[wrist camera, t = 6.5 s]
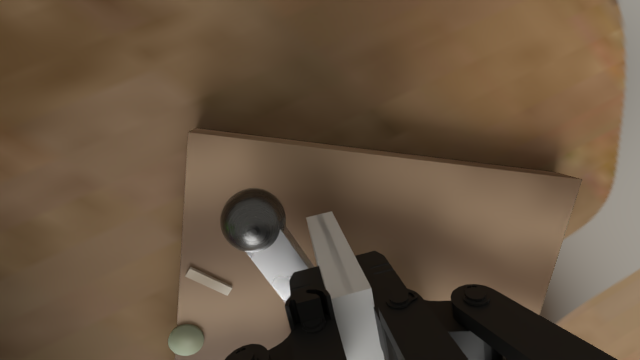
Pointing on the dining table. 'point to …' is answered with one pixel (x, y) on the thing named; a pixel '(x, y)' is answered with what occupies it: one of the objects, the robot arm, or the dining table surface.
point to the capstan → (264, 236)
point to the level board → (359, 228)
